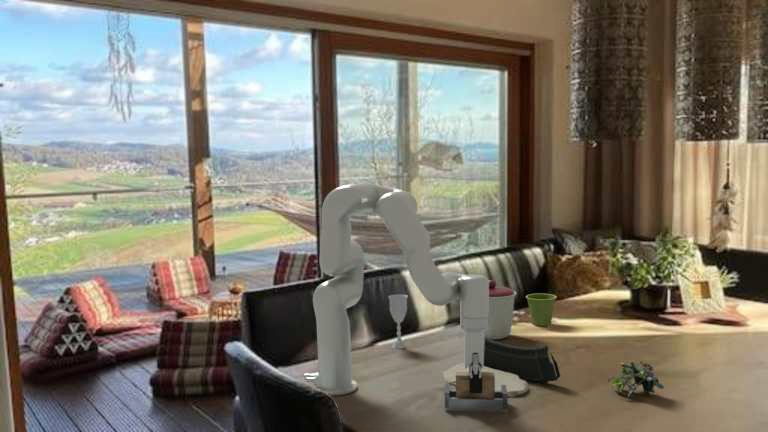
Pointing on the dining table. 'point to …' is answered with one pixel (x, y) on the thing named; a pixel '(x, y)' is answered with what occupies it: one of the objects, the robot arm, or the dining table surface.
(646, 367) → the green leafy plant
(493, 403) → the grey open holder
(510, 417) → the dining table surface
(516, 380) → the stone tablet
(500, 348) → the magazine
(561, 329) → the dining table surface
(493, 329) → the canister
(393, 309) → the chalice
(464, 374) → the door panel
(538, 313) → the plant pot
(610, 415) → the dining table surface
